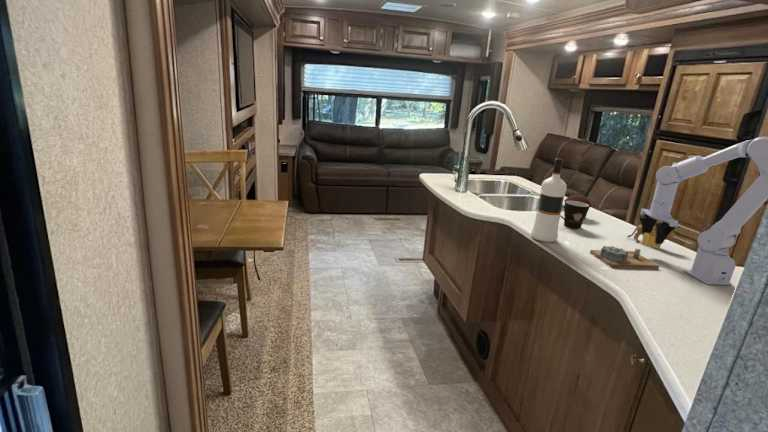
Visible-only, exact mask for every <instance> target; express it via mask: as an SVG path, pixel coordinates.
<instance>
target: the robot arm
mask: <svg viewBox="0 0 768 432" xmlns="http://www.w3.org/2000/svg"><path fill="white" fill-rule="evenodd" d="M738 158H750V159H751V160H752V161H753V162H754V163H755V165H756V166H757V169H758V171H759V176H757V178H756V179H755V180H754V181H753V182H752V183H751V185H750V186H749V187H748V188H747V189H746V190H745V192H743V194H742V195H741V196H740V197H739V198H738V200H737V201H736V202H735V203H734V204H733V206H731V208H729V210H728V211H727V212H726V213H725V214H724V215H723V217H722V218H721V219H720V220H718V221H716V222H715V223H714V224H713V225H711V227H710V228H708V229H707V230H704V231H702V232H701V233H700V234H699V235H697V244H698V248H697V251H696V254H695V257H694V260H693V263H692V265H691V266H692V267H691V269H683V272H685V273H686V274H688V275H690V276H692V277H693V278H696V279H697V280H699V281H701V282H703V283H704V284H706V285H716V286H717V285H721V286H722V285H725V286H731V285H732V282H731V279H732V277H733V274H734V271H735V270H736V269H735V268H736V262H735V260H734V259H733V258H731V257H730V256H729V254H730V250H729V248H731V247H733V246H734V245H735V244H736V242H737V237H738V236H739V235H740V234H741V232H742V227H743V226H744V225H745V224H746V223H747V222H748V221H749V220H750V219H751V217H753V215H754V214H756V212H757V211H758V210H759V209H760V208H761V207H762V206H763V204H765V203H766V201H767V200H768V199H767V198H768V136H759V137H756V138H753V139H749V140H745V141H742V142H739V143H738V142H737V143H736V144H734V145H731V146H729V147H727V148H724V149H721V150H719V151H716V152H714V153H711V154H709V155H707V156H702V155H694V154H693V155H689V156H687V159H683V160H681V161H679V162H678V161H675V162H672V165H670V166H669V165H663V166H662V167H660V168H659V169H657V171H656V173H655V179H656V186H655V190H654V193H653V198H652V201H651V205H650V208H649V209H648V208H641V209H640V213H639V214H640V215H643V216H639V220H640V221H639V222H640V225H642V234H641V235H642V237H643V235H644V233H645V232H647V233H650V232H652V229H654V228H656V227H657V234H656V239H655V243H656V244H661V245H662V244H663V243H664V242H665V239H666V237H667V236H668V235H669V233H670V232H671V231H672V230H673V231H674V230H675V229H676V228H677V227H678V225H679V220H676V219H675V218H673V217H672V215H671V212H672V208H673V204H674V201H675V197H676V193H677V190H678V187H679V184H680V183H681V182H683V181H684V180H686V179H690V178H693V177H696V176H700V175H702V174H705V173H707V172H708V170H709V168H710V167H713V166H716V165H719V164H722V163H725V162H729V161H732V160H735V159H738ZM655 226H656V227H655ZM666 240H667V239H666Z"/></svg>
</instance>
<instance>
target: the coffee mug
mask: <svg viewBox="0 0 768 432" xmlns="http://www.w3.org/2000/svg"><path fill="white" fill-rule="evenodd" d="M588 206H589V205H588V204H586V203H582V202H578V201H566V206H565V205H562V208H563V209H565V216H562V215H561V217H560V219H562V220H563V221H564V222H563V227H565V228H566V229H567V228H568V229H571V230H581V228H582V226H583V222H584V221H585V219H584V217H585V215H586V212H587V209H588ZM587 213H588V212H587ZM586 216H587V215H586ZM585 218H586V217H585Z"/></svg>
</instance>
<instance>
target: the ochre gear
mask: <svg viewBox="0 0 768 432" xmlns="http://www.w3.org/2000/svg"><path fill="white" fill-rule="evenodd" d="M655 239H656V234H654V233H651V232H650V233H647V232H645V233H644V235H643V236H642V238H641V241H640V243H641V244H642V245H644V246H646V247H651V248H652V249H655V248H654V247H656V249H657V248H658V249H659V248H661V246H662V244H656V243H655Z"/></svg>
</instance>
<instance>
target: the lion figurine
mask: <svg viewBox="0 0 768 432" xmlns="http://www.w3.org/2000/svg"><path fill="white" fill-rule="evenodd" d="M651 233H654V234H657V227H653V229H652V232H651ZM641 235H642V224H639V225H637V226H636V227H635V229H634V231H632V233H631V234H629V235H627V236H626V237H627V238H630V237H633V239H634V240H635V242H636V243H640V240H639V237H640V236H641ZM673 236H674V230H672V231H671V232H670V233H669V235H668V236H667V237H666V239H665V240H669V239H671V238H673ZM665 240H664V241H665ZM653 249H657V247H654V248H653Z"/></svg>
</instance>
